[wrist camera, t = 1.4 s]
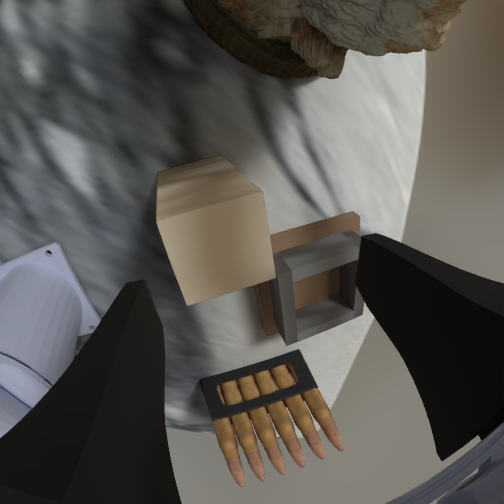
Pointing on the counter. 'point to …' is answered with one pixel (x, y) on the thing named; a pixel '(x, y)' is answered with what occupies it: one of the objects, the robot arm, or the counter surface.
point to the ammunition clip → (266, 403)
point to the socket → (312, 279)
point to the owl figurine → (321, 30)
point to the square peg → (213, 228)
